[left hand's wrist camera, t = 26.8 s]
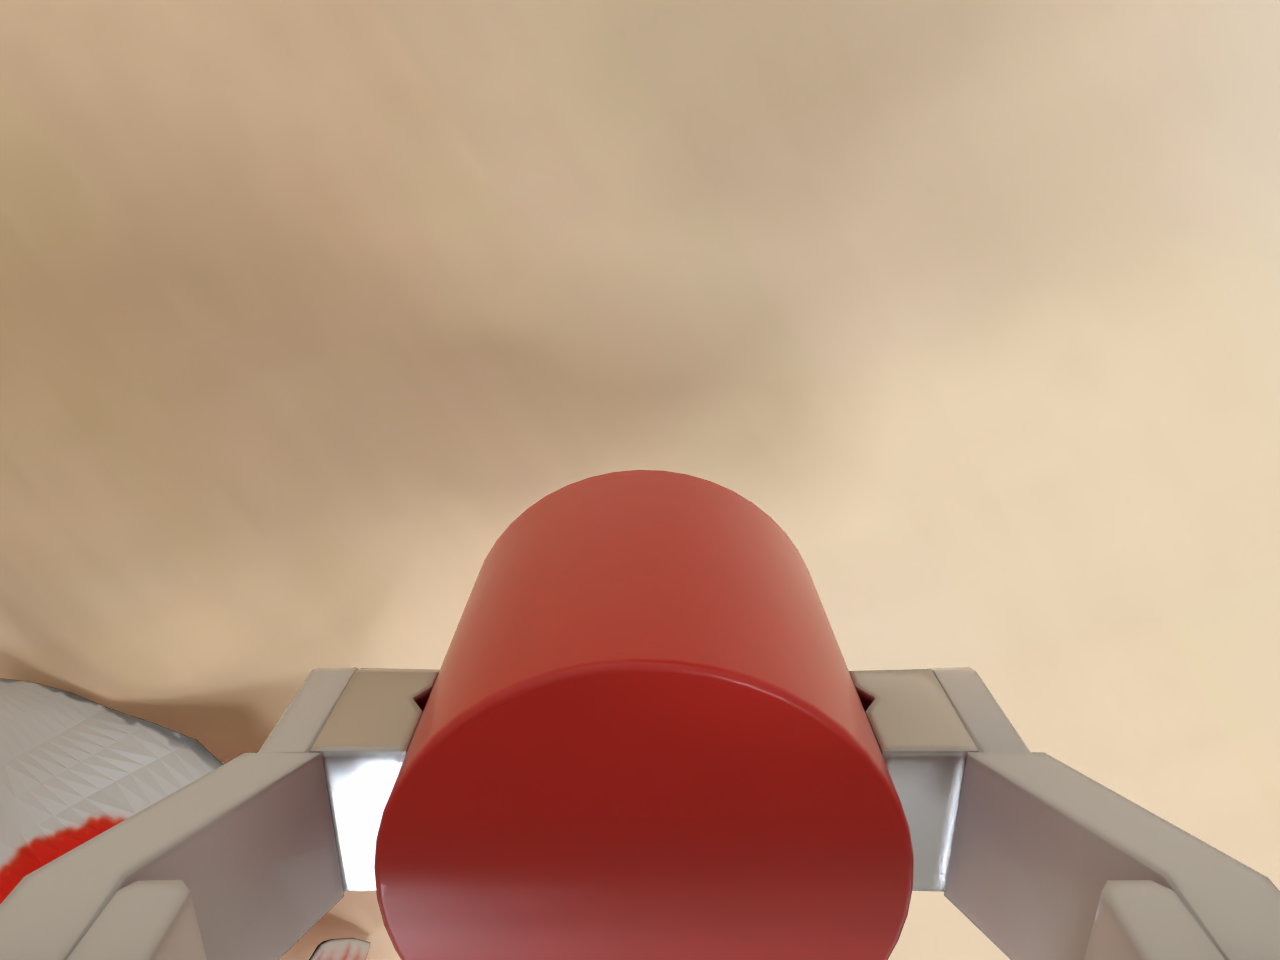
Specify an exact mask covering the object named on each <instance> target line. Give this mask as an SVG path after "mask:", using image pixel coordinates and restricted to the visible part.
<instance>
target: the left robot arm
mask: <svg viewBox="0 0 1280 960" xmlns="http://www.w3.org/2000/svg"><path fill="white" fill-rule="evenodd" d="M439 671H440V670H426V669H377V668H361V669H357V668H319V669H316V670H313V671H312V672H311V673H310V674H309V675H308V677H307V678H306V680H305V681H304V683H303V684H302V686H301V687H300V689H299V690H298V692H297V693H296V695H295V696H294V698H293V700H292V701H291V703H290V704H289V706H288V707H287V709H286V710H285V712H284V713H283V715H282V716H281V718H280V719H279V721H278V722H277V724H276V725H275V727H274V729H273V730H272V732H271V733H270V735H269V736H268V738H267V739H266V741H265V742H264V744H263V745H262V747H261V748H260V750H259V751H258V753H243V754H241V755H240V756H238V757H236V758H234V759H232V760H231V761H229V762H227V763H225V764H224V765H222V766H220V767H218V768H216V769H215V770H213V771H211V772H209V773H208V774H206V775H204V776H202V777H200V778H199V779H197V780H195V781H193V782H192V783H190V784H188V785H186V786H184V787H183V788H181V789H179V790H177V791H176V792H174V793H172V794H170V795H168V796H167V797H165V798H163V799H161V800H160V801H158V802H156V803H154V804H152V805H151V806H149V807H147V808H145V809H144V810H142V811H140V812H138V813H136V814H135V815H133V816H131V817H129V818H128V819H126V820H124V821H122V822H120V823H119V824H117V825H115V826H113V827H112V828H110V829H108V830H106V831H104V832H103V833H101V834H99V835H97V836H96V837H94V838H92V839H90V840H88V841H87V842H85V843H83V844H81V845H80V846H78V847H76V848H74V849H72V850H71V851H69V852H67V853H65V854H64V855H62V856H60V857H58V858H56V859H55V860H53V861H51V862H49V863H48V864H46V865H44V866H42V867H40V868H39V869H37V870H35V871H33V872H32V873H30V874H28V875H26V876H25V877H24V878H23V879H22V880H21V881H20V882H19V883H18V885H17V886H16V887H15V888H14V889H13V890H12V892H11V893H10V894H9V895H8V896H7V897H6V898H5V900H4V901H3V902H2V903H1V904H0V960H279V959H280V958H281V957H282V956H283V955H284V954H285V953H286V952H287V951H288V950H289V949H290V948H291V947H292V946H293V945H294V944H295V943H296V942H297V941H298V940H299V939H300V938H301V937H302V936H303V935H304V934H305V933H306V932H307V931H308V930H309V929H310V928H311V927H312V926H313V925H314V924H316V923H317V922H318V921H319V920H320V919H321V918H322V917H323V916H324V915H325V914H326V913H327V912H328V911H329V910H330V909H331V908H332V907H333V906H334V905H335V904H336V903H337V902H338V901H339V900H340V899H341V898H342V897H343V896H344V893H343V891H376V882H375V872H374V860H375V846H376V837H377V833H378V829H379V825H380V821H381V817H382V813H383V810H384V808H385V805H386V803H387V800H388V798H389V795H390V793H391V790H392V788H393V785H394V783H395V780H396V778H397V775H398V773H399V771H400V768H401V766H402V763H403V761H404V758H405V756H406V753H407V751H408V748H409V746H410V743H411V741H412V738H413V736H414V733H415V731H416V728H417V726H418V723H419V721H420V718H421V716H422V713H423V711H424V709H425V706H426V704H427V701H428V699H429V696H430V694H431V691H432V689H433V686H434V684H435V681H436V679H437V676H438V674H439ZM849 673H850V676H851V678H852V681H853V683H854V686H855V688H856V691H857V693H858V696H859V698H860V701H861V703H862V706H863V708H864V711H865V713H866V716H867V718H868V721H869V723H870V726H871V728H872V731H873V733H874V736H875V738H876V741H877V743H878V746H879V748H880V751H881V753H882V756H883V758H884V761H885V763H886V766H887V769H888V771H889V774H890V776H891V779H892V781H893V784H894V786H895V789H896V791H897V794H898V796H899V799H900V801H901V804H902V807H903V810H904V813H905V816H906V819H907V822H908V825H909V828H910V834H911V841H912V848H913V854H914V870H913V888H912V891H945V892H944V896H945V897H946V898H947V899H949V900H950V901H951V902H952V903H953V904H954V905H955V906H956V907H957V908H958V909H959V910H960V911H961V912H962V913H963V914H964V915H965V916H966V917H967V918H968V919H969V920H970V921H971V922H972V923H973V924H974V925H975V926H976V927H977V928H979V929H980V930H981V931H982V932H983V933H984V934H985V935H986V936H987V937H988V938H989V939H990V940H991V941H992V942H993V943H994V944H995V945H996V946H997V947H998V948H999V949H1000V950H1001V951H1002V952H1003V953H1004V954H1005V955H1006V956H1008V957H1009V958H1010V959H1011V960H1280V891H1279V890H1278V889H1277V887H1276V886H1275V885H1274V884H1273V883H1272V882H1271V881H1270V879H1269V878H1267V877H1266V876H1264V875H1262V874H1260V873H1259V872H1257V871H1255V870H1253V869H1251V868H1250V867H1248V866H1246V865H1244V864H1242V863H1241V862H1239V861H1237V860H1235V859H1234V858H1232V857H1230V856H1228V855H1226V854H1225V853H1223V852H1221V851H1219V850H1217V849H1216V848H1214V847H1212V846H1210V845H1208V844H1207V843H1205V842H1203V841H1201V840H1200V839H1198V838H1196V837H1194V836H1192V835H1191V834H1189V833H1187V832H1185V831H1183V830H1182V829H1180V828H1178V827H1176V826H1174V825H1173V824H1171V823H1169V822H1167V821H1166V820H1164V819H1162V818H1160V817H1158V816H1157V815H1155V814H1153V813H1151V812H1149V811H1148V810H1146V809H1144V808H1142V807H1141V806H1139V805H1137V804H1135V803H1133V802H1132V801H1130V800H1128V799H1126V798H1124V797H1123V796H1121V795H1119V794H1117V793H1115V792H1114V791H1112V790H1110V789H1108V788H1107V787H1105V786H1103V785H1101V784H1099V783H1098V782H1096V781H1094V780H1092V779H1090V778H1089V777H1087V776H1085V775H1083V774H1081V773H1080V772H1078V771H1076V770H1074V769H1073V768H1071V767H1069V766H1067V765H1065V764H1064V763H1062V762H1060V761H1058V760H1056V759H1055V758H1053V757H1051V756H1049V755H1047V754H1046V753H1031V752H1030V750H1029V749H1028V748H1027V746H1026V745H1025V743H1024V742H1023V740H1022V739H1021V737H1020V736H1019V734H1018V733H1017V731H1016V730H1015V728H1014V727H1013V725H1012V724H1011V722H1010V721H1009V719H1008V718H1007V717H1006V715H1005V714H1004V712H1003V711H1002V709H1001V708H1000V706H999V705H998V703H997V702H996V700H995V699H994V697H993V696H992V694H991V693H990V691H989V690H988V688H987V687H986V686H985V684H984V683H983V681H982V680H981V678H980V677H979V675H978V674H977V672H976V671H974V670H973V669H971V668H969V667H964V668H937V669H917V670H874V671H849Z"/></svg>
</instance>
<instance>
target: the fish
mask: <svg viewBox="0 0 1280 960" xmlns="http://www.w3.org/2000/svg"><path fill="white" fill-rule="evenodd" d="M222 765H224V764H222V763H221V762H220V761H219V760H218V759H217V758H216V757H215V756H214V755H212V754H211V753H210V752H209V751H208V750H207V749H206V748H205V747H204V746H203V745H201V744H200V743H199V742H198V741H197V740H195V739H192V738H190V737H187V736H185V735H182V734H180V733H177V732H175V731H172V730H170V729H167V728H165V727H162V726H160V725H157V724H155V723H152V722H149V721H146V720H143V719H140V718H137V717H134V716H131V715H128V714H125V713H122V712H119V711H116V710H113V709H110V708H107V707H105V706H102V705H100V704H97V703H95V702H92V701H90V700H88V699H85V698H83V697H80V696H78V695H75V694H73V693H71V692H67V691H63V690H60V689H56V688H52V687H48V686H44V685H41V684H37V683H33V682H28V681H20V680H11V679H2V678H0V904H1V903H2V902H3V901H4V900H5V898H6V897H7V896H8V895H9V894H10V893H11V892H12V890H13V889H14V888H15V887H16V886H17V885H18V883H19V882H20V881H21V880H22V879H23V878H24V877H25V876H26V875H28V874H30V873H32V872H33V871H35V870H37V869H39V868H40V867H42V866H44V865H46V864H48V863H49V862H51V861H53V860H55V859H56V858H58V857H60V856H62V855H64V854H65V853H67V852H69V851H71V850H72V849H74V848H76V847H78V846H80V845H81V844H83V843H85V842H87V841H88V840H90V839H92V838H94V837H96V836H97V835H99V834H101V833H103V832H104V831H106V830H108V829H110V828H112V827H113V826H115V825H117V824H119V823H120V822H122V821H124V820H126V819H128V818H129V817H131V816H133V815H135V814H136V813H138V812H140V811H142V810H144V809H145V808H147V807H149V806H151V805H152V804H154V803H156V802H158V801H160V800H161V799H163V798H165V797H167V796H168V795H170V794H172V793H174V792H176V791H177V790H179V789H181V788H183V787H184V786H186V785H188V784H190V783H192V782H193V781H195V780H197V779H199V778H200V777H202V776H204V775H206V774H208V773H209V772H211V771H213V770H215V769H216V768H218V767H220V766H222ZM369 948H370V942H367V941H363V940H359V939H355V938H343V939H331V940H327V941H323V942H322V943H321V944H319V945H318V946H317V948H316V949H315V951H314V953H313V954H312V956H311V958H310V959H309V960H366V957H367V954H368V951H369Z"/></svg>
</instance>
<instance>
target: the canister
mask: <svg viewBox="0 0 1280 960" xmlns="http://www.w3.org/2000/svg"><path fill="white" fill-rule="evenodd" d="M913 870H914V854H913V848H912V841H911V834H910V828H909V825H908V822H907V819H906V816H905V813H904V810H903V807H902V804H901V801H900V799H899V796H898V794H897V791H896V789H895V786H894V784H893V781H892V779H891V776H890V774H889V771H888V769H887V766H886V763H885V761H884V758H883V756H882V753H881V751H880V748H879V746H878V743H877V741H876V738H875V736H874V733H873V731H872V728H871V726H870V723H869V721H868V718H867V716H866V713H865V711H864V708H863V706H862V703H861V701H860V698H859V696H858V693H857V691H856V688H855V686H854V683H853V681H852V678H851V676H850V673H849V671H848V668H847V666H846V663H845V661H844V658H843V656H842V653H841V651H840V648H839V646H838V643H837V641H836V638H835V636H834V633H833V631H832V628H831V626H830V623H829V621H828V618H827V616H826V613H825V611H824V608H823V606H822V603H821V601H820V598H819V596H818V593H817V591H816V588H815V586H814V583H813V581H812V578H811V576H810V573H809V571H808V569H807V567H806V565H805V563H804V561H803V559H802V557H801V555H800V553H799V551H798V550H797V548H796V547H795V545H794V544H793V543H792V541H791V540H790V538H789V537H788V536H787V534H786V533H785V532H784V531H783V530H782V529H781V528H780V527H779V526H778V525H777V524H776V522H775V521H774V520H773V519H772V518H771V517H770V516H768V515H767V514H766V513H765V512H763V511H762V510H761V509H760V508H758V507H757V506H756V505H754V504H753V503H752V502H750V501H748V500H747V499H745V498H743V497H742V496H740V495H738V494H737V493H735V492H733V491H731V490H729V489H727V488H724V487H722V486H720V485H718V484H715V483H713V482H711V481H707V480H704V479H700V478H697V477H693V476H690V475H686V474H680V473H673V472H667V471H652V470H633V471H622V472H613V473H608V474H604V475H599V476H594V477H590V478H587V479H584V480H581V481H579V482H576V483H573V484H570V485H567V486H565V487H563V488H561V489H559V490H557V491H555V492H553V493H551V494H549V495H548V496H546V497H544V498H543V499H541V500H540V501H538V502H537V503H536V504H534V505H533V506H531V507H530V508H528V509H527V510H526V511H525V512H524V513H522V514H521V515H520V516H519V517H518V518H517V519H516V520H515V521H514V522H512V523H511V524H510V526H509V527H508V528H507V529H506V530H505V531H504V533H503V534H502V535H501V536H500V537H499V539H498V540H497V541H496V543H495V544H494V546H493V547H492V549H491V551H490V552H489V554H488V556H487V557H486V559H485V561H484V563H483V566H482V568H481V570H480V573H479V575H478V577H477V580H476V582H475V585H474V587H473V589H472V592H471V594H470V597H469V599H468V602H467V604H466V607H465V609H464V612H463V614H462V617H461V619H460V622H459V624H458V627H457V629H456V632H455V634H454V637H453V639H452V642H451V644H450V647H449V649H448V651H447V654H446V656H445V659H444V661H443V664H442V666H441V669H440V671H439V674H438V676H437V679H436V681H435V684H434V686H433V689H432V691H431V694H430V696H429V699H428V701H427V704H426V706H425V709H424V711H423V713H422V716H421V718H420V721H419V723H418V726H417V728H416V731H415V733H414V736H413V738H412V741H411V743H410V746H409V748H408V751H407V753H406V756H405V758H404V761H403V763H402V766H401V768H400V771H399V773H398V775H397V778H396V780H395V783H394V785H393V788H392V790H391V793H390V795H389V798H388V800H387V803H386V805H385V808H384V810H383V813H382V817H381V821H380V825H379V829H378V833H377V837H376V846H375V860H374V872H375V882H376V892H377V900H378V903H379V907H380V911H381V914H382V918H383V922H384V925H385V928H386V930H387V932H388V934H389V937H390V939H391V941H392V943H393V945H394V948H395V950H396V952H397V953H398V955H399V956H400V958H401V959H402V960H888V958H889V956H890V954H891V953H892V951H893V949H894V947H895V945H896V943H897V942H898V939H899V937H900V934H901V931H902V929H903V926H904V923H905V920H906V918H907V914H908V909H909V904H910V899H911V894H912V888H913Z"/></svg>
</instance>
